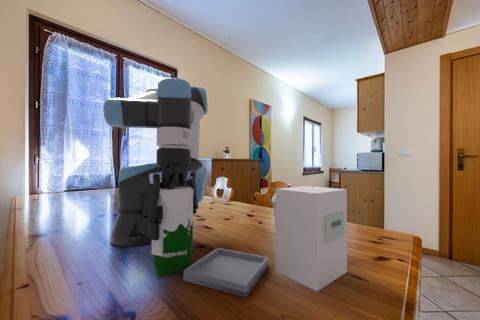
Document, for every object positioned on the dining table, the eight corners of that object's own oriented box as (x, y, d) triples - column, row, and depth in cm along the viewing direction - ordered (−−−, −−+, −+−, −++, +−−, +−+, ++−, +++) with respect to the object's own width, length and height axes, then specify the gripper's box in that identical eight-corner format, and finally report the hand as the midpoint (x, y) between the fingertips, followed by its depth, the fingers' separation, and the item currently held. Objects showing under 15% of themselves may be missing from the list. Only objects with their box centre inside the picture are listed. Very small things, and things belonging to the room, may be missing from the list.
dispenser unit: (274, 271, 50) (274, 188, 50) (305, 257, 58) (305, 185, 58) (321, 293, 41) (320, 193, 42) (350, 273, 49) (350, 189, 49)
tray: (183, 280, 46) (183, 270, 46) (217, 255, 58) (217, 247, 58) (245, 297, 40) (245, 285, 40) (269, 266, 52) (269, 257, 52)
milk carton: (186, 256, 57) (187, 177, 58) (196, 271, 49) (197, 179, 50) (148, 263, 53) (150, 177, 54) (153, 280, 45) (155, 180, 46)
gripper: (149, 143, 41) (148, 270, 41) (212, 150, 60) (212, 235, 60) (120, 144, 44) (119, 262, 44) (189, 150, 64) (188, 232, 63)
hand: (173, 246), depth 52 cm, fingers closed on milk carton, 9 cm apart
